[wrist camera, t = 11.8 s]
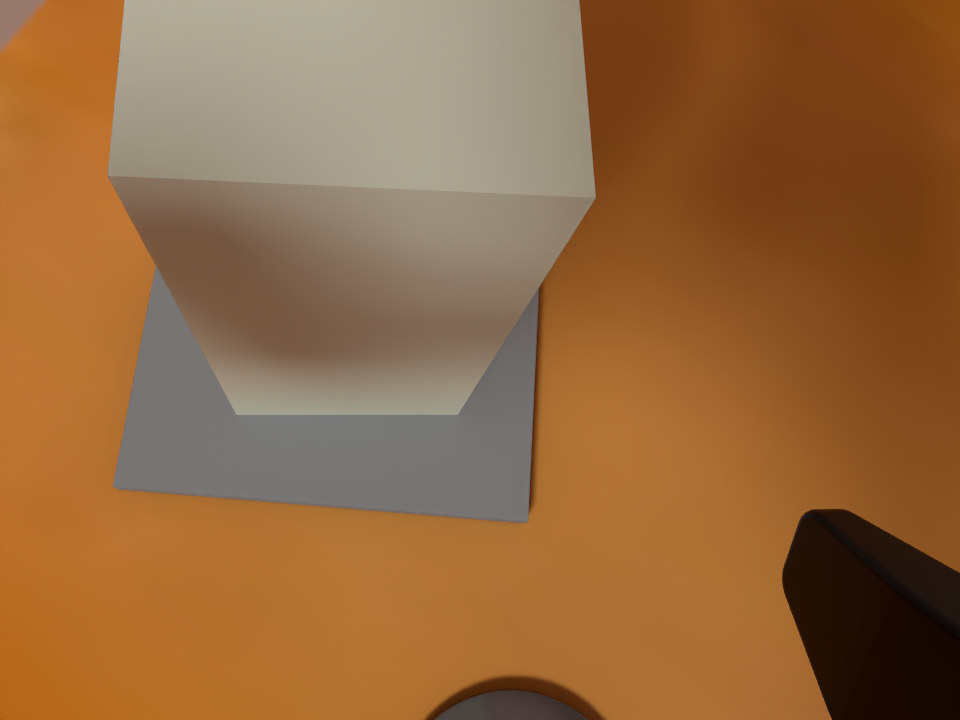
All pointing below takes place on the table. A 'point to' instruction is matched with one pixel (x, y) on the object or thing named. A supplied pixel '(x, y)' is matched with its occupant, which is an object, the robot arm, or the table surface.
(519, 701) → the cable grommet
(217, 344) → the sage pillar
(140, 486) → the slate mat
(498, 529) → the table surface
